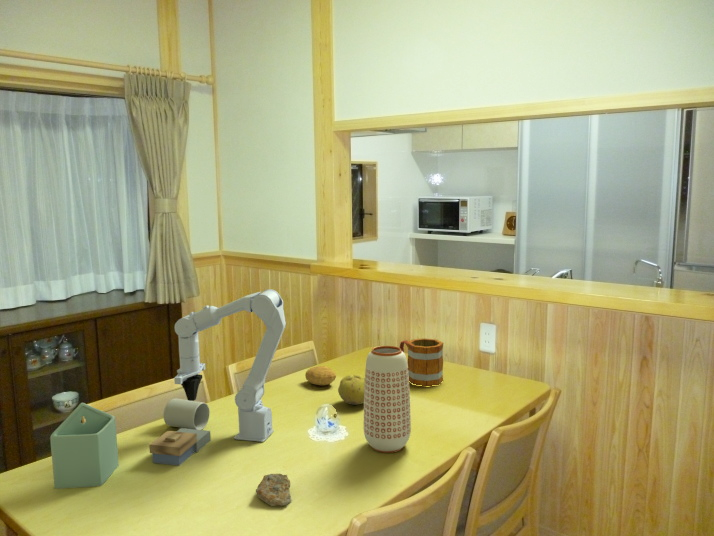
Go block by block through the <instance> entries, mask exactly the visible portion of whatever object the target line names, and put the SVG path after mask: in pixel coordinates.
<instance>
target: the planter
mask: <svg viewBox="0 0 714 536" xmlns="http://www.w3.org/2000/svg"><path fill="white" fill-rule="evenodd" d="M83 419H85V421H84V422H83V423H82V420H83ZM116 421H117V420H116V416H115V415H113V414H110V413H108V412H105V411H103V410H101V409H98V408H96V407H93V406H91V405H89V404H88V403H87V404H86V403H85V402H80V403H79V404H78V406H77V407H76V408H75V409H74V410H73V411H72V412H71V413H70V414H69V416H68V417H66V419H64V420H63V422H61V424H59V426H58V427H57V428H56V429H55V430H54V431H53V432H52V433H51V435H50V437H49V439H50V452H51V462H52V465H51V466H52V474H53V486H54V487H53V489H58V490H59V489H75V488H77V489H78V488H90V487H91V488H92V487H102V486H103V485H104V484H105V483H106V482H107V481H108V480H109V478H110V477H111V475H113V474H114V472H115V470H116V469H117V468H118V467H119V466H120V464H119V452H118V450H119V449H118V438H117V437H118V435H117V423H116Z"/></svg>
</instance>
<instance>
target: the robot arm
mask: <svg viewBox="0 0 714 536" xmlns="http://www.w3.org/2000/svg"><path fill="white" fill-rule="evenodd" d="M202 308H203V309H201V310H198V311H195V312H194V311H191V312H189V313H188V315H185V316H183V317H181V318H179V319H178V320H177V321H176V322H175V324H174V327H173V328H174V332H175V334H176V335H177V337H178V355H179V369H177V370H176V373H177V375H176V376H174V379H173V380H174V385H181V386H182V388H183V391H184V393H185V396H186V400H189V401H196V400H197V396H198V391H199V388H200V384H201V382H202V380H203V374H200V373H202V371H205V370H206V363H203V362H200V360H201V359H200V357H201V356H200V341H199V332H202V331H204V330H208V329H209V328H212V327H214V326H217V325H220V323H221V321H222V319H223V318H225V317H229V316H231V315H234V314H237V313H240V312H242V311H246V312H247V313H252V312H253V313H254V314H255V315H256V317H258V318H259V319H260V320H261V321H262V322H263V323H264V325H265V327H266V329H265V332H264V335H263V337H262V340H261V341H260V345H259V347H258V350H257V353H256V356H255V358H254V360H253V363H252V364H251V368H250V370H249V373H248V376H247V378H246V379H245V381H244V383H243V384H242V387H241V389H240V390H239V391H238V392H236V394H235V396H234V402H235V405H236V407H237V409H238V410H237V412H238V433H237V434H236V435H235V436H234V437H233V439H234V440H241V441H249V442H250V441H251V442H260V443H261V442H262V443H263V442H265V441H266V440H267V439H268V438H269V437H270V435H271V434H273V432H274V429H273V411H272V409H271V408H270V407H267V406H264V405H263V401H262V398H263V396H264V395H265V383H266V381H267V380H266V377H267V374H268V372H269V369H270V368H271V365H272V362H273V359H274V358H275V354H276V352H277V349H278V346H279V344H280V342H281V340H282V339H281V338H282V336H283V334H284V331H285V329H286V325H287V323H286V317H285V311H284V300H283V298H282V297H281V295H280V294H279V292H278V291H276V290H274V289H272V288H271V289H265V290H264V291H257V292H254V293H251V294H247V295H245V296H243V297H240V298H238V299H236V300H234V301H231V302H229V303H227V304H226V303H225V304H224V305H222V306H220V307H217V306H215V305H210V306H209V304H207V305H205V306H203V307H202Z"/></svg>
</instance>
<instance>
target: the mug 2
mask: <svg viewBox="0 0 714 536" xmlns="http://www.w3.org/2000/svg"><path fill="white" fill-rule="evenodd" d="M404 345H406V347H407V365H408V375H409V381H410V382H411V383H413V384H416V385H422V386H432V385H439V384H440V383H441V382H442V381H443V382H444V376H443V374H444V373H443V369H444V356H443V355H444V354H443V352H444V351H443V350H444V342H443V341H442V340H441V341H440V340H438V339H435V338H434V339H433V338H414V339H411V340H409V341H408V340H406V339H405V340H402V341H400V343H399V348H400V349H401V351H403V352H404V353H405V348H404V347H405V346H404Z"/></svg>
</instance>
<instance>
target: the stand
mask: <svg viewBox="0 0 714 536" xmlns="http://www.w3.org/2000/svg"><path fill="white" fill-rule="evenodd" d="M176 432H185V433H196V434H197V442H196V443H195V444H194V451H195V452H194V453H199V451H201V450H202V449H203V448H204V447H205V446H206V445H208V443H210V442H211V438H212V437H211V430H204V429H202V430H195V429H186V428H179V429H178V430H177V431H176Z"/></svg>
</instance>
